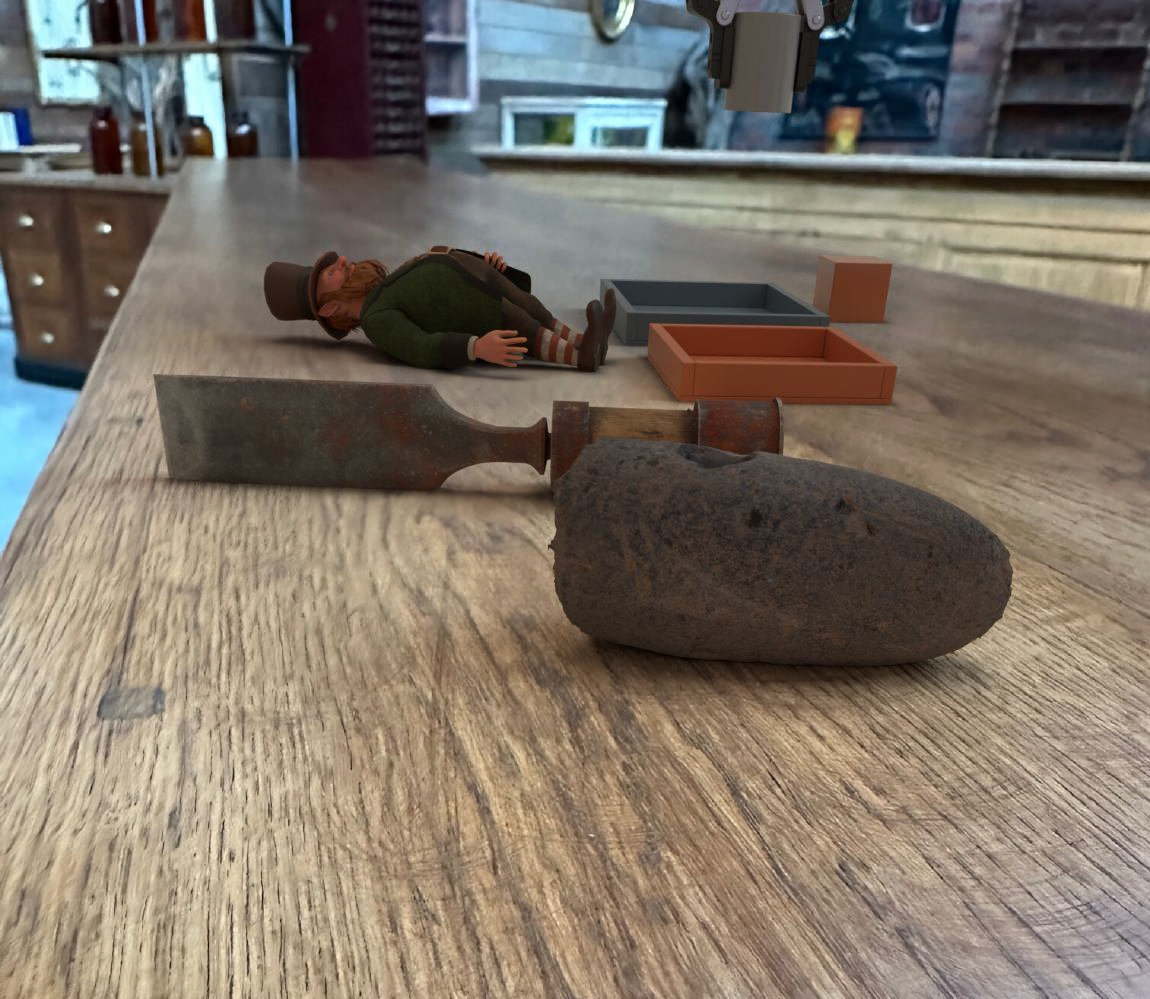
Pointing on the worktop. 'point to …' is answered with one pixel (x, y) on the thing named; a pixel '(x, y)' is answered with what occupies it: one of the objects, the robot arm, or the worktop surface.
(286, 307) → the leprechaun
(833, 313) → the clay block
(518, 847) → the worktop surface
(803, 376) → the terracotta tray
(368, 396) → the chisel
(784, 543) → the perforated stone tool
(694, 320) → the slate tray
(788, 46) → the stone cylinder
